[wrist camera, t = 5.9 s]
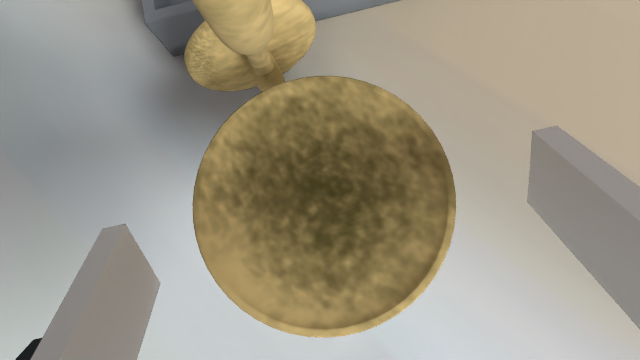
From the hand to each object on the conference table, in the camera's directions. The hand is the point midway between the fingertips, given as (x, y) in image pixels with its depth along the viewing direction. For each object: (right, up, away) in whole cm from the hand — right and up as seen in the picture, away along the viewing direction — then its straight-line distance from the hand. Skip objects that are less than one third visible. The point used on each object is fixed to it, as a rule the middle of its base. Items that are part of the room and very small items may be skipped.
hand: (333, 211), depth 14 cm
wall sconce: (0, 0, +13) cm, 13 cm away
